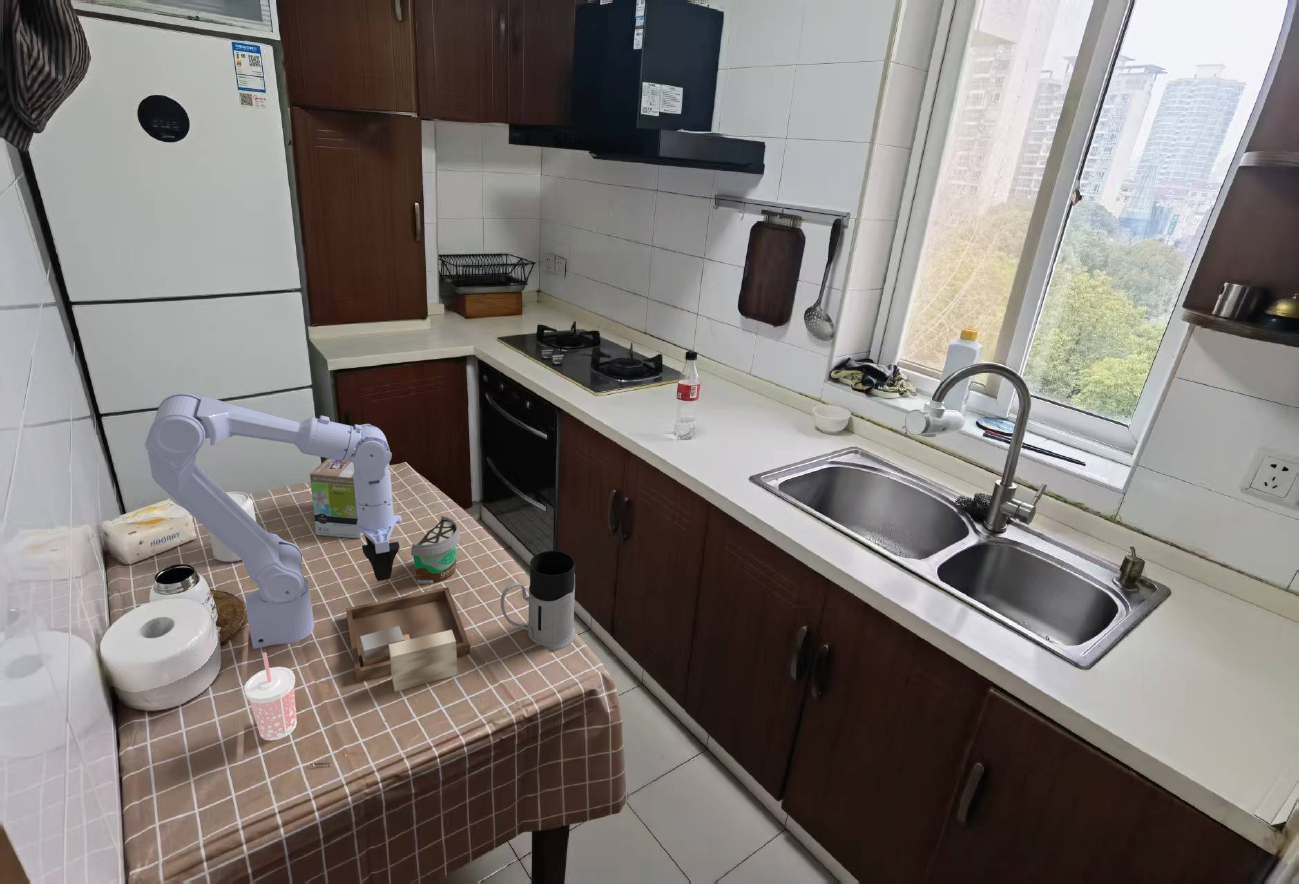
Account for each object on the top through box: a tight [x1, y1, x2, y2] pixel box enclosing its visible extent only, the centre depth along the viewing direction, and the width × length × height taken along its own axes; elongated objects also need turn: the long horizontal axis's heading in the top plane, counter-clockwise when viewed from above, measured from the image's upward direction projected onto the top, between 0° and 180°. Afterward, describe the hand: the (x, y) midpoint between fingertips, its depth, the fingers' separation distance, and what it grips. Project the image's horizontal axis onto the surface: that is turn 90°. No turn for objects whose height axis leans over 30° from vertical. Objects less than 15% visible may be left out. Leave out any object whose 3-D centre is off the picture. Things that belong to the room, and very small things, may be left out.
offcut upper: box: [360, 626, 404, 661], centre depth 108 cm, size 6×4×2 cm, turn 121°
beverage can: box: [207, 491, 257, 563], centre depth 132 cm, size 8×8×12 cm
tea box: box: [309, 458, 364, 539], centre depth 146 cm, size 15×10×15 cm
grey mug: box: [500, 550, 577, 652], centre depth 114 cm, size 9×14×15 cm, turn 132°
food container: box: [410, 515, 461, 585], centre depth 131 cm, size 12×6×10 cm, turn 168°
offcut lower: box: [360, 634, 410, 667], centre depth 109 cm, size 8×4×2 cm, turn 117°
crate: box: [345, 586, 471, 684], centre depth 115 cm, size 18×17×3 cm
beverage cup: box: [243, 651, 298, 741], centre depth 93 cm, size 6×6×14 cm
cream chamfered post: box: [389, 630, 458, 692], centre depth 105 cm, size 10×3×7 cm, turn 117°
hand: (380, 566), depth 117 cm, fingers open, 7 cm apart
